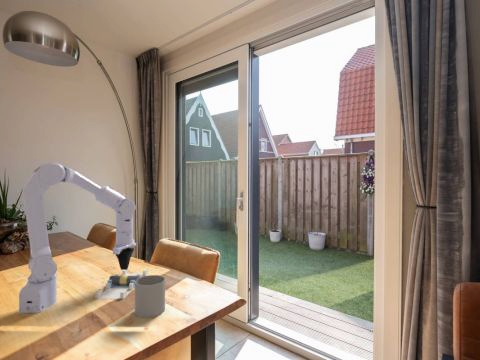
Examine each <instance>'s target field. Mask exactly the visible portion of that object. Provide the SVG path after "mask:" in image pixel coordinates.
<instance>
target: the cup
mask: <svg viewBox="0 0 480 360" xmlns="http://www.w3.org/2000/svg"><path fill="white" fill-rule="evenodd" d="M165 311H166V277H164V276H162V275H158V274H157V275H156V274H154V275H152V274H151V275H146V276H144V277H140V278H138V279H137V280H136V281H135V288H134V315H135V316H136V317H138V318H141V319H150V318H155V317H158V316H161V315H163V313H165Z"/></svg>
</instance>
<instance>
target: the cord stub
mask: <svg viewBox="0 0 480 360" xmlns="http://www.w3.org/2000/svg"><path fill="white" fill-rule="evenodd" d="M138 278H140V276H129V275H123V274H122V275H121V274H120V276H114V275H110V276H109V279H108V280H112V284H120V285H128V284H130V281H131V280H135V281H136V280H137V279H138Z"/></svg>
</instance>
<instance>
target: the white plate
mask: <svg viewBox="0 0 480 360" xmlns="http://www.w3.org/2000/svg"><path fill="white" fill-rule="evenodd" d="M128 271H129V268H128V269H127V270H122V275H129V276H140V277H144V276H148V272H149V268H144V269H143V270H142V273H129V272H128ZM113 276H121V274H114V275H113ZM133 290H135V280H131V281H130V284H128V285H120V284H112V280H109V279H107V283H105V290H104V291H103V288H100V289H98V290H97V291H96V292H95V293H94V299H95V300H124V299H126V297H127V296H128V295H129V294H130V293H131V292H132V291H133Z"/></svg>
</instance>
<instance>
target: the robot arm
mask: <svg viewBox="0 0 480 360" xmlns="http://www.w3.org/2000/svg"><path fill="white" fill-rule="evenodd" d="M59 183H69V184H73V185H75V186H77V187H79V188H81V189H84V190H85V191H87V192H89V193H90V194H92V195H94V197H95V200H96V201H97V202H99V203H101V204H103V205H105V206H107V207H108V208H110V209H111V210H112V209H113V210H114V212H116V214H115V244H114V247H113V248H112V254H113V255H115V256H116V258H117V260H118V263H119V268H120V270H121V271H123V270H127V269H128V270H129V265H130V262H131V258H132V255H133V253H134V250H135V247H136V246H137V243H136V242H135V239H134V213H135V211H136V209H137V206H136V203H135V201H134V200H133V199H131V198H128V197H127V198H126V194H124V193H120V192H118V191H116V190H114V187H112V186H109V185H108V186H107V185H103V186H100V185H98V184H96V183H95V182H93V181H92V180H90V179H89V178H87V177H85V176H84V175H83V174H80V173H79V172H78V171H76V170H74V169H71V168H69V167H67V166H64V165H62V164H60V163H59V162H52V161H51V162H45V163H43V164H41V165H40V166H38V167H37V168H36V169H34V170H33V171H32V174H31V176H30V177H29V178H28V180H27V182H26V183H25V185H24V186H23V188H22V197H23V204H24V205H23V206H24V210H25V218H26V224H27V225H26V226H27V231H28V232H27V233H28V239H29V247H30V259H29V260H28V263H27V264H28V269H29V271H30V272H31V274H30V275H29V276H28V277H27V282H26V284H25V285H24V286H23V287H22V288H21V289H20V291H19V293H18V305H19V306H18V312H16V314H15V315H18V314H19V313H21V314H23V313H24V314H27V313H29V314H40V313H42V312H43V311H45V310H46V309H48V308H50V307H51V306H52V307H53V306H54V305H56V303H57V300H58V299H57V294H58V293H57V292H58V291H57V287H58V286H57V280H58V279H57V278H58V277H57V271H58V265H57V262H56V261H55V260H54V258H53V257H52V251H51V248H50V242H49V235H48V234H49V233H48V226H47V219H46V214H45V213H46V212H45V205H44V198H43V195H44V194H45V193H46V192H47V191H49V189H50V188H51V187H52V186H54V185H57V184H59Z"/></svg>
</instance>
